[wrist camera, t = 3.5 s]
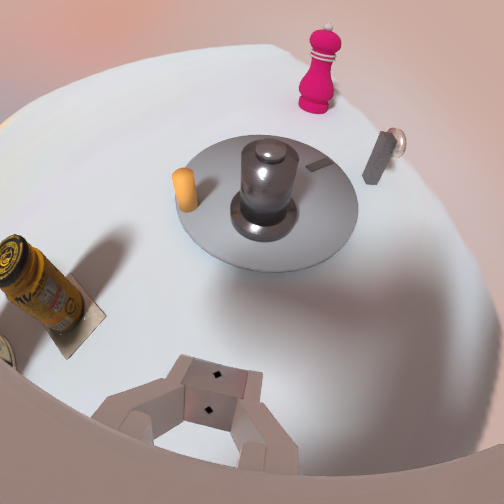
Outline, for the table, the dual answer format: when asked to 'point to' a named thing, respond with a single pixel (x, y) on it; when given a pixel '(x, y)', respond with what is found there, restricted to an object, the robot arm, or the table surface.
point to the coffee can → (7, 352)
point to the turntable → (304, 195)
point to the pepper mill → (319, 71)
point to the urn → (265, 191)
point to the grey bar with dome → (384, 154)
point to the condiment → (47, 294)
